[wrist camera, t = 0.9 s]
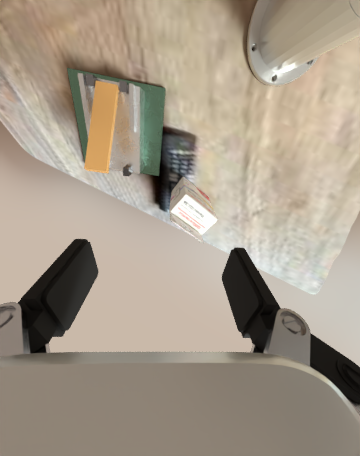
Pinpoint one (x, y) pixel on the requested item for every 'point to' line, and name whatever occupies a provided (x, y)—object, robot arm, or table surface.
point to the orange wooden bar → (101, 127)
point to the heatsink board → (149, 118)
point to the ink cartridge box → (191, 209)
